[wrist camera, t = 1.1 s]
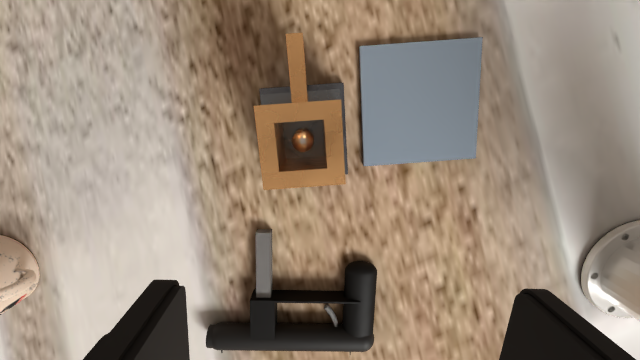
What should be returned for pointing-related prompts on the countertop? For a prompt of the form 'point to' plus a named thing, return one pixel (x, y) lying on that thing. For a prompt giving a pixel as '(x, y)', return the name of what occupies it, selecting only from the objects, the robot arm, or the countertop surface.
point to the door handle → (301, 337)
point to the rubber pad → (420, 101)
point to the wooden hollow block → (270, 120)
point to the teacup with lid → (16, 273)
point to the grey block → (306, 134)
